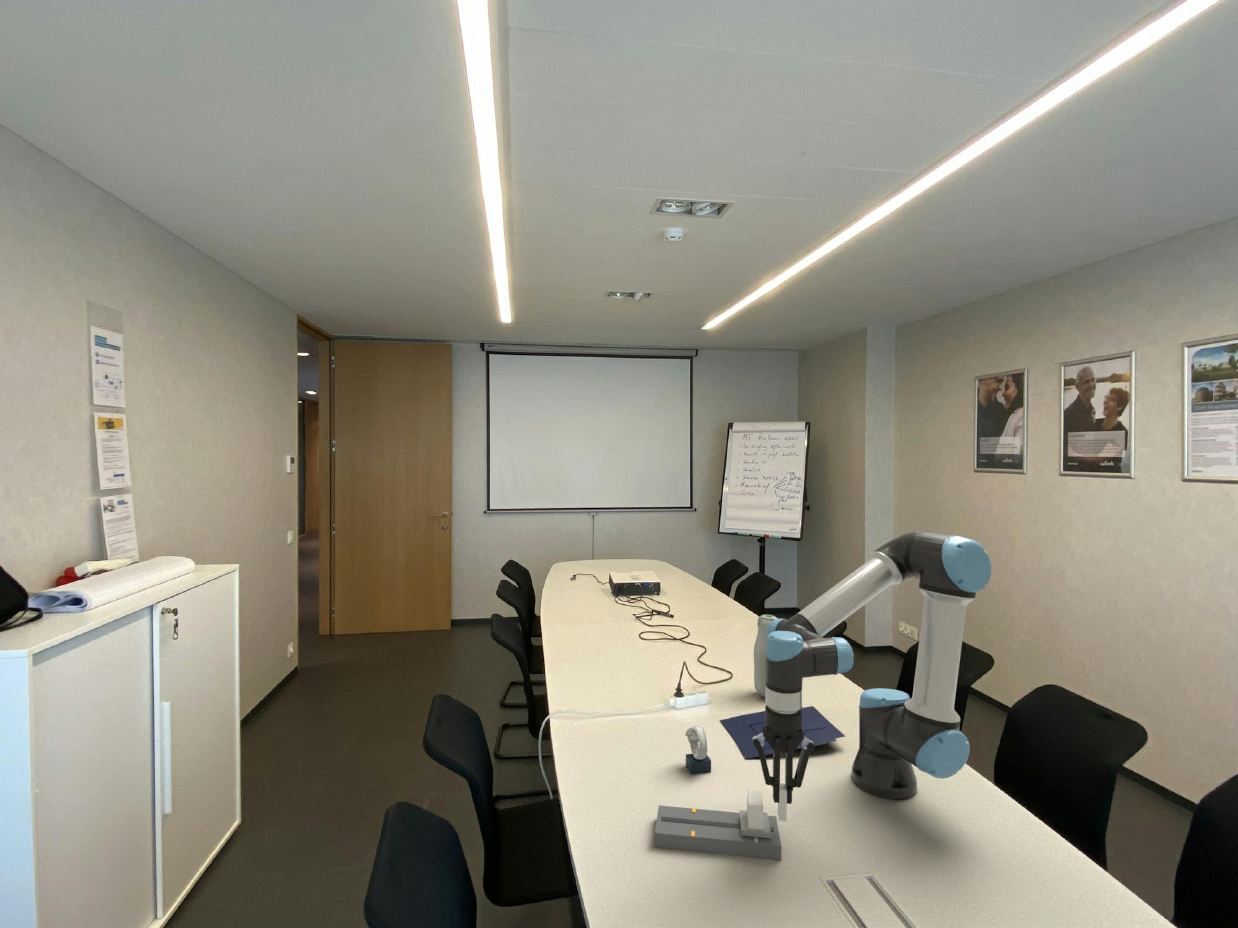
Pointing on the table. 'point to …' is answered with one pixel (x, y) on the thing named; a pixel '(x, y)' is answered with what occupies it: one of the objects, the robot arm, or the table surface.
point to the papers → (754, 723)
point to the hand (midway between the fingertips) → (782, 816)
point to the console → (712, 833)
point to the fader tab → (754, 817)
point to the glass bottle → (761, 654)
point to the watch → (697, 751)
